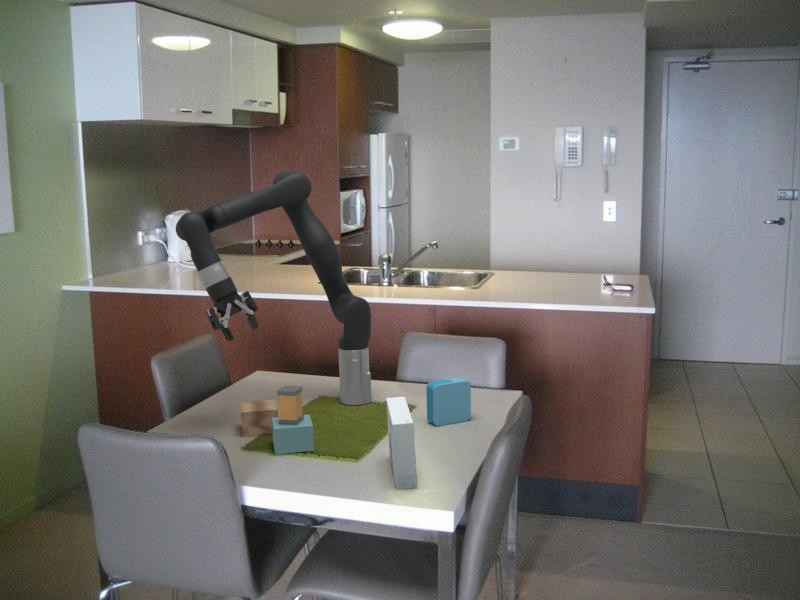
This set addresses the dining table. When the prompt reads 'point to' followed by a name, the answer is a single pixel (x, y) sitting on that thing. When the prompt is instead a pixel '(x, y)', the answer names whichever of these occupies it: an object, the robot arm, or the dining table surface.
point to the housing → (290, 405)
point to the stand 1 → (258, 417)
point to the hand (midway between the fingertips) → (243, 334)
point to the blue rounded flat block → (448, 401)
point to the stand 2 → (293, 436)
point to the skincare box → (401, 443)
